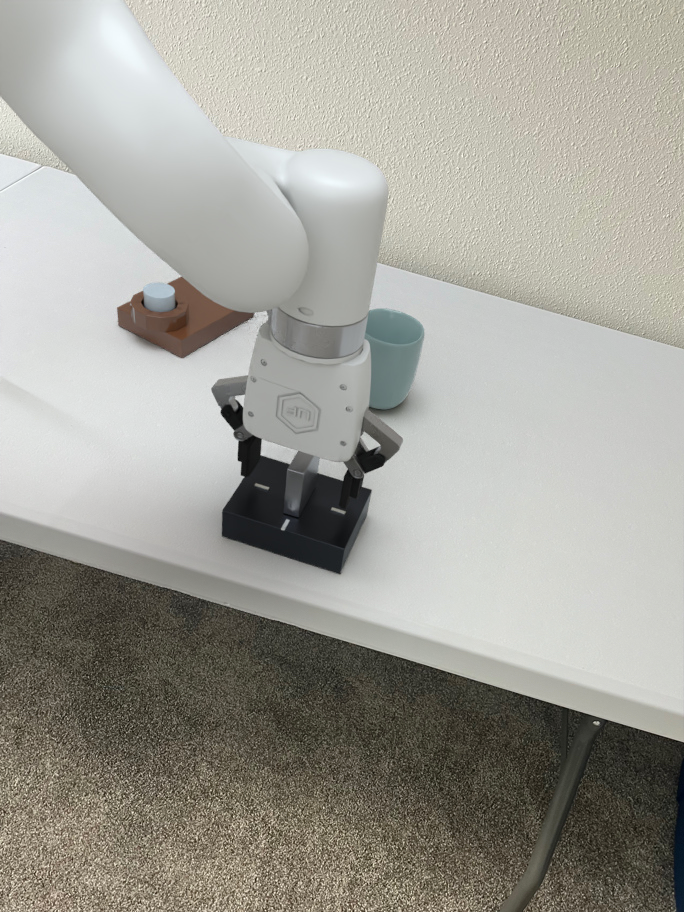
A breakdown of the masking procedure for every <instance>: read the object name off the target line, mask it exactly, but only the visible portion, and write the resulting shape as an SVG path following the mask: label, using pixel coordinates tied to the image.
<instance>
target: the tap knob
mask: <svg viewBox="0 0 684 912" xmlns="http://www.w3.org/2000/svg"><path fill="white" fill-rule="evenodd" d="M320 460H321V458H319V457H316V456H313V455H310V454H307V453H303V452H300V451H296V454H295V455H294V457H293V459H292V460H291V462H290V463H289V464H290V465H289V467H288V469H287V477H286V488H285V498H284V509H283V513H285V514H288V515H292V516H295V517H298V518H299V517H300V515H301V513H302V511H303V509H304V507H305V505H306V504H307V502H308V500H309V498H310V496H311V494H312V492H313V491H314V489H315V487H316V482H317V475H318V473H319V467H320Z"/></svg>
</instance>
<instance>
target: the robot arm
mask: <svg viewBox="0 0 684 912" xmlns="http://www.w3.org/2000/svg"><path fill="white" fill-rule="evenodd" d="M0 98H1V99H2V100H3V101H4V102H5V104H7V106H8V107H9V108H10V109H11V110H12V111H13V112H14V114H15V115H16V116H17V117H18V118H19V119H20V121H21V122H22V123H23V125H25V126H26V127H27V128H28V129H29V131H30V132H31V133H33V135H34V136H35V137H36V138H37V139H38V140H39V141H40V142H41V143H42V144H44V145H45V146H46V147H47V148H48V149H49V150H50V151H51V152H52V154H54V156H56V157H57V158H58V159H59V160H60V161H61V163H63V164H64V165H65V166H66V167H67V168H68V169H69V170H70V171H71V172H72V174H74V175H75V177H76V178H77V179H78V180H79V181H80V182H81V183H82V184H83V185H84V186H85V187H86V188H87V189H88V191H90V192H91V193H92V194H93V196H94V197H95V198H96V199H98V201H99V202H100V203H101V204H102V205H103V206H104V207H105V208H106V209H107V210H108V211H109V212H110V213H111V214H112V215H113V216H114V217H115V218H116V219H117V220H118V221H119V222H120V223H121V224H122V225H123V226H124V227H125V228H126V229H127V230H128V231H129V232H131V234H132V235H134V236H135V237H136V238H137V239H138V241H140V242H141V243H142V244H143V245H144V246H146V247H147V248H148V249H149V250H150V251H151V252H152V253H153V254H154V255H156V257H158V258H159V259H160V260H162V261H163V262H164V263H165V264H166V265H168V267H170V268H171V269H172V270H174V271H175V272H176V273H177V274H178V275H179V276H180V277H183V278H184V279H185V280H186V281H188V282H189V283H190V284H191V285H192V286H194V287H195V288H196V289H197V290H198V291H200V292H201V293H202V294H203V295H205V296H206V297H207V298H209V299H211V300H212V301H214V302H215V303H217V304H220V305H222V306H224V307H226V308H228V309H232V310H235V311H239V312H248V313H254V314H255V313H263V312H266V314H267V320H266V321H265V322H264V323H262V324H261V326H259V329H258V332H257V335H256V338H255V341H254V346H253V349H252V354H251V358H250V363H249V369H248V374H247V375H240V376H233V377H232V376H231V377H227V378H219V379H218V380H217V381H216V382H215V383H214V384H213V385H212V387H211V388H210V389H211V393H212V395H213V397H214V399H215V402H216V404H217V406H218V407H219V408H220V415H221V417H222V418H223V419H224V420H225V422H226V423H227V424H228V425H229V427H230V428H231V429H232V430H233V438H234V439H235V440H236V441H238V443H237V462H239V463H241V464H240V476H241V477H243V478H244V477H247V476H248V477H249V476H250V474H251V473H252V471H253V470H254V468H255V467H256V465H257V464H258V462H259V461H260V457H261V455H262V442H263V440H264V441H267V442H269V443H272V444H276V445H279V446H282V447H285V448H287V449H292V450H294V451H296V452H298V451H300V452H303V453H307V454H310V455H313V456H316V457H319V458H320V459H322V460H327V461H329V462H334V463H343V464H344V466H345V467H346V469H347V470H346V472H345V474H344V475H343V480H342V481H343V484H342V490H341V496H340V501H339V506H340V508H343V509H346V508H347V506H348V504H349V502H350V500H351V498H355V499H358V497H359V494H360V492H361V489H362V487H363V484H364V479H365V475H366V474H368V473H371V472H373V471H375V470H378V469H380V468H382V467H384V465H385V464H386V463H387V462H388V461H390V459H392V458H393V457H394V456H395V455H396V454H398V452H400V449H401V447H402V445H403V442H404V438H403V437H402V436H401V435H400V434H399V433H397V432H396V430H394V429H393V428H391V427H390V426H389V425H388V424H387V423H385V422H384V421H383V420H382V419H381V418H379V417H378V416H377V415H376V414H375V413H373V412H372V411H371V410H370V409H369V408H370V406H369V400H370V387H371V352H370V344H369V342H368V341H367V340H366V339H364V337H365V331H366V325H367V320H368V314H369V310H370V307H371V301H372V297H373V290H374V285H375V277H376V272H377V267H378V261H379V255H380V250H381V244H382V239H383V238H382V237H383V232H384V228H385V227H384V226H385V221H386V214H387V210H388V203H389V202H388V201H389V193H390V192H389V184H388V180H387V178H386V176H385V174H384V172H383V171H382V170H381V169H380V168H379V167H378V165H376V164H375V163H374V162H372V161H371V160H369V159H367V158H365V157H363V156H360V155H357V154H355V153H352V152H349V151H345V150H340V149H335V148H319V147H318V148H309V149H304V150H300V151H299V150H292V149H288V148H287V149H286V148H280V147H276V146H271V145H267V144H264V143H263V144H262V143H258V142H254V141H250V140H246V139H242V138H238V137H233V136H227V135H224V134H223V133H222V132H221V131H220V130H219V128H217V127H216V125H215V124H214V123H213V121H212V120H211V119H210V118H209V117H208V115H207V114H206V113H205V112H204V110H202V109H201V106H200V105H198V103H197V102H196V101H195V100H194V99H193V97H192V96H191V94H189V92H188V91H187V89H186V88H185V87H184V86H183V84H182V83H181V82H180V80H179V79H178V77H176V75H175V74H174V73H173V71H172V69H171V68H170V67H169V66H168V64H167V63H166V61H165V60H164V58H163V57H162V56H161V55H160V53H159V51H158V50H157V49H156V47H155V45H154V44H153V43H152V41H151V40H150V37H149V36H148V34H147V33H146V32H145V29H144V28H143V27H142V26H141V24H140V21H139V20H138V19H137V17H136V16H135V14H134V13H133V11H132V10H131V8H130V7H129V5H128V3H127V2H126V1H125V0H0ZM239 396H244V399H243V405H242V404H241V403H240V402H239V401H238V400H237V399H236V397H239ZM364 433H366V434H367V435H368V436H369V437H371V439H373V440H374V441H375V442H376V443H378V444H379V446H376V447H374V448H372V449H369V448H368V447H367V444H366V443H365V441H364V440H363V439H362V436H363V435H364Z"/></svg>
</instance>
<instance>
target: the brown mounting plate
mask: <svg viewBox="0 0 684 912" xmlns="http://www.w3.org/2000/svg"><path fill="white" fill-rule="evenodd" d="M166 284H168V285H170V286H172V287H173V288H174V289H175V309H173V310H171V311H167V312H155V311H151V310H149V309H147V308H145V306H144V297H143V290H141V291H138V292H136V293H135V294H133V295H132V297H131V299H130V301H128V302H125V303H123V304H121V305H119V306H117V307H116V312H117V324H118V326H119V327H120V328H123V329H124V330H126V331H128V332H130V333H133V334H134V335H136V336H138V337H140V338H142V339H144V340H145V341H148V342H150V343H151V344H153V345H156V346H157V347H159V348H161V349H164V351H167V352H169V353H171V354H173V355H175V356H177V357H179V358H180V359H183V358H185V357H187V356H188V355H190V354H192V353H193V352H195V351H197V350H198V349H200V348H202V347H204V346H205V345H207V344H209V343H211V342H212V341H214V340H216V339H217V338H219V337H221V336H223V335H224V334H226V333H228V332H230V331H232V330H233V329H235V328H236V327H238V326H240V325H241V324H243V323H245V322H247V321H248V320H251V318H253V317H255V313H248V312H239V311H235V310H232V309H228V308H226V307H224V306H222V305H220V304H217V303H215V302H214V301H212V300H211V299H209V298H207V297H206V296H205V295H203V294H202V293H201V292H200V291H198V290H197V289H196V288H195V287H194V286H192V285H191V284H190V283H189V282H188V281H186V280H185V279H184V278H183V277H182V276H180V277H177V278H175V279H173V280H171V281H169V282H167V283H166Z"/></svg>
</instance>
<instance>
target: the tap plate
mask: <svg viewBox="0 0 684 912" xmlns="http://www.w3.org/2000/svg"><path fill="white" fill-rule="evenodd" d="M290 464H291V463H287V462H284V461H281V460H279V459H274V458H271V457H268V456H265V455H262V454H261V457H260V461H259V462H258V464H257V465H256V467H255V468H254V470H253V471H252V473H251V474H250V476H249V477H248V476H247V477H244V476H243V478H242V480H241V481H240V483H239V484H238V486H237V487H236V489H235V490H234V491H233V494H232V495H231V497H230V498H229V499H228V501H227V502H226V504H225V506H224V507H223V508H222V510H221V537H222V538H225V539H229V540H232V541H235V542H237V543H240V544H244V545H248V546H250V547H253V548H257V549H260V550H263V551H265V552H269V553H271V554H275V555H278V556H282V557H285V558H288V559H291V560H294V561H297V562H301V563H304V564H306V565H309V566H313V567H316V568H319V569H322V570H325V571H329V572H330V573H334V574H338V575H341V573H342V571H343V569H344V567H345V564H346V563H347V561H348V558H349V555H350V553H351V552H352V549H353V546H354V544H355V543H356V540H357V538H358V537H359V534H360V531H361V529H362V527H363V525H364V522H365V520H366V518H367V516H368V512H369V508H370V502H371V496H372V493H373V491H372V490H373V489H370V488H366V487H364V486H362V489H361V492H360V494H359V497H358V499H355V498H351V500H350V502H349V504H348V506H347V508H346V509H343V508H340V506H339V501H340V496H341V490H342V484H343V480H341V479H339V478H335V477H332V476H329V475H326V474H322V473H320V472H318V475H317V482H316V487H315V489H314V491H313V492H312V494H311V496H310V498H309V500H308V502H307V504H306V505H305V507H304V509H303V511H302V513H301V515H300V517H299V518H298V517H295V516H292V515H288V514H285V513H283V509H284V498H285V488H286V477H287V469H288V467H289V465H290Z"/></svg>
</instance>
